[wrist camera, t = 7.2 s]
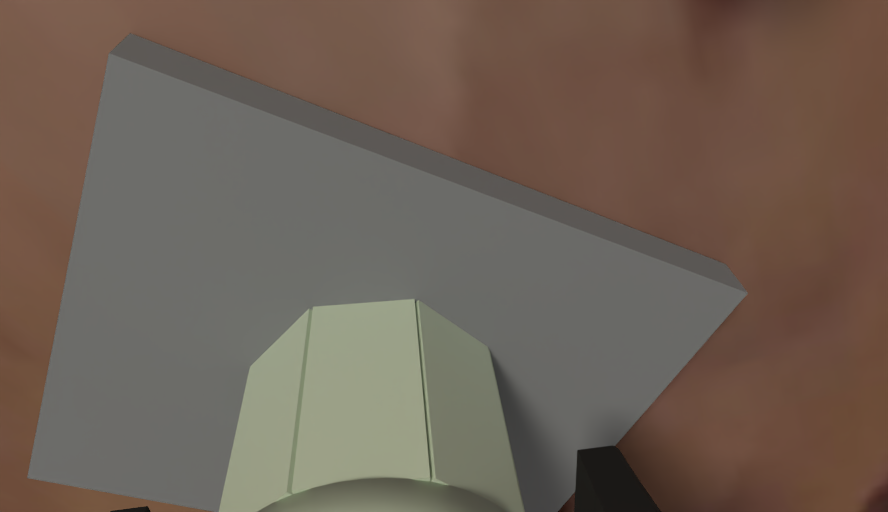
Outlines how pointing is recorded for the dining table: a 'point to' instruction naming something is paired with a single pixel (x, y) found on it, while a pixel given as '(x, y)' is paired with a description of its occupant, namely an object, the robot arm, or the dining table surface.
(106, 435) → the mat
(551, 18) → the dining table surface
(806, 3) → the dining table surface
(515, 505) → the cap
